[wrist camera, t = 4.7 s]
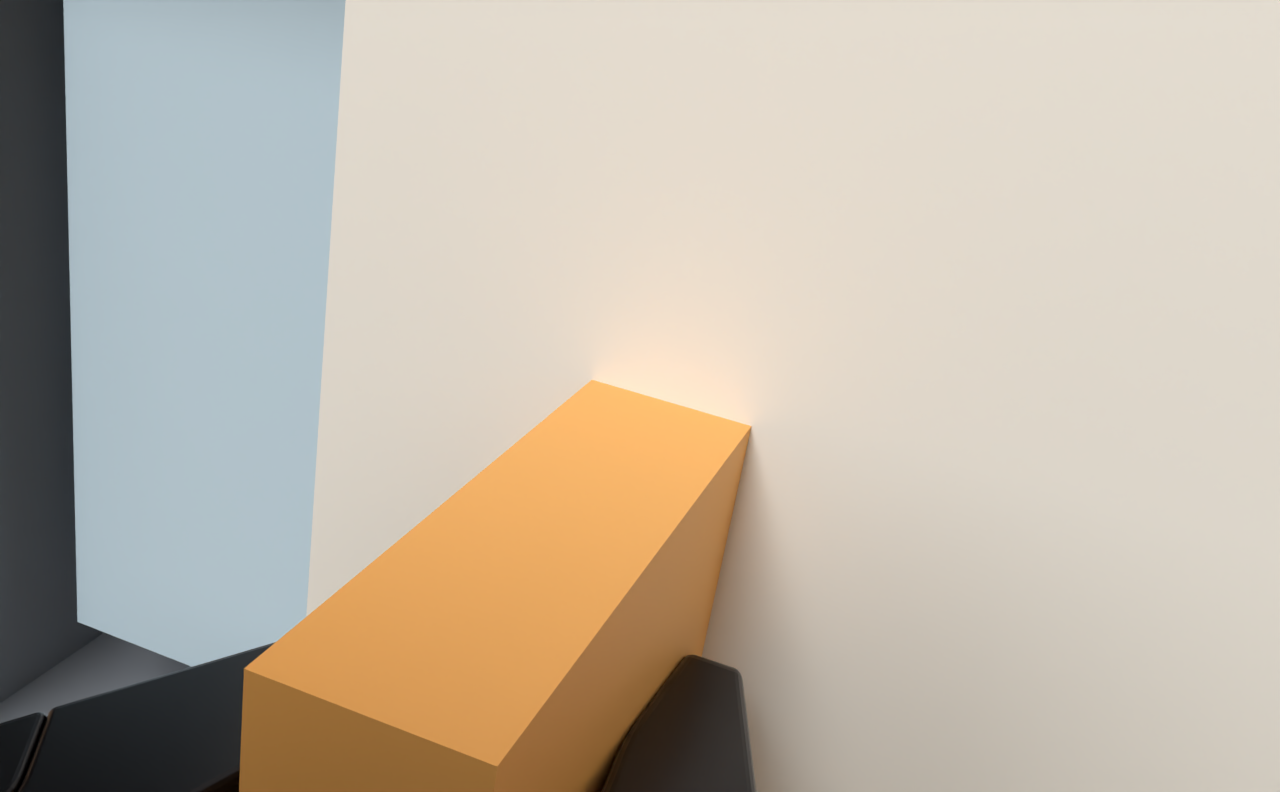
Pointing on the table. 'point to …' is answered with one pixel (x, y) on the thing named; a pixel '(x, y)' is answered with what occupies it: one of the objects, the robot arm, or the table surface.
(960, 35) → the flap
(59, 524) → the carton
